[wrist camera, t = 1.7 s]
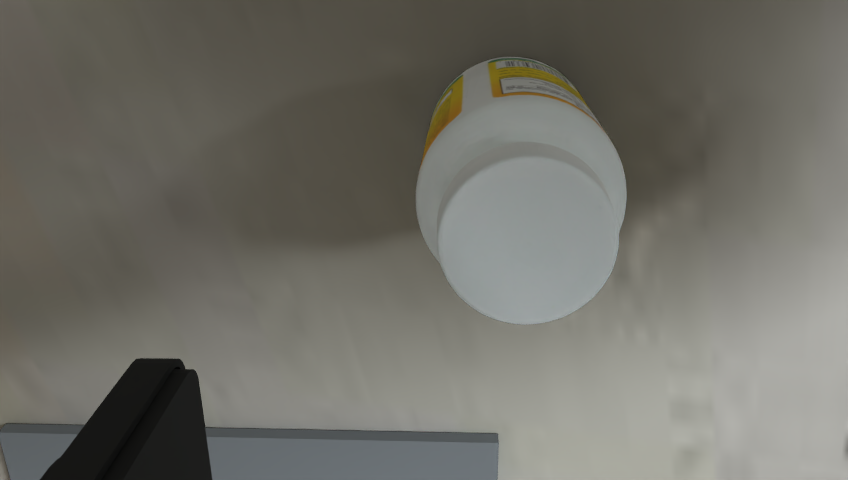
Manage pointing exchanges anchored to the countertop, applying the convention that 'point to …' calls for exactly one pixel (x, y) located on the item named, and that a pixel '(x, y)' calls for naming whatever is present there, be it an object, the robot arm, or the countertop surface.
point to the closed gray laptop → (291, 453)
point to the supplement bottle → (520, 192)
